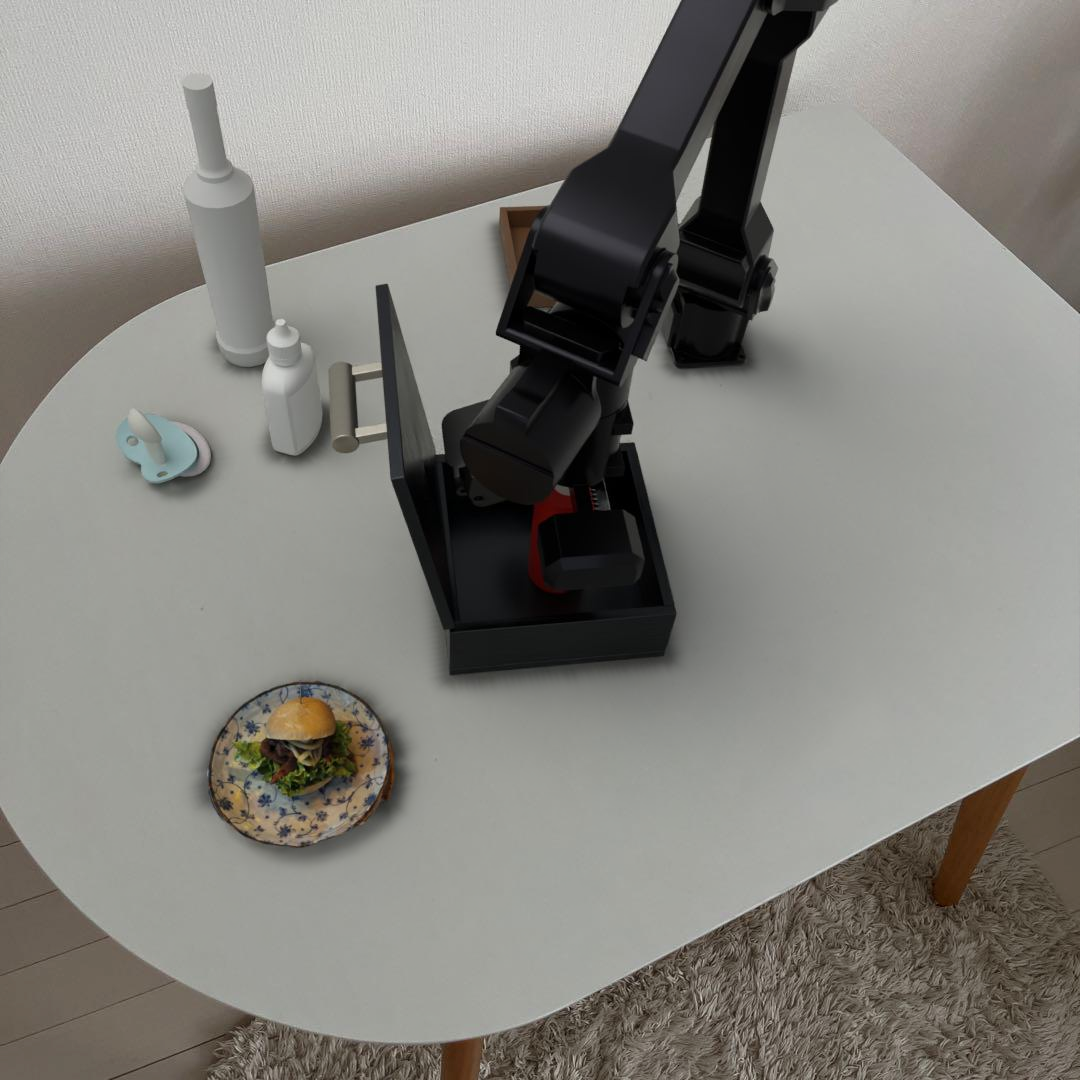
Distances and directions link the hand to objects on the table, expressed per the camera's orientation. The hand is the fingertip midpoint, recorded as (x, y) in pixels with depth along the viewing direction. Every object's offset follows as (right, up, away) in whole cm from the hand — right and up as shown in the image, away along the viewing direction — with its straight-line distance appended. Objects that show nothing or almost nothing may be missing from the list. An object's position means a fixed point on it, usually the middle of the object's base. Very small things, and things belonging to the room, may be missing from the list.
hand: (561, 536), depth 80 cm
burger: (-17, -16, -7) cm, 24 cm away
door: (-9, +5, -9) cm, 14 cm away
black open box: (-1, -3, +4) cm, 5 cm away
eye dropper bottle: (-21, +8, +11) cm, 25 cm away
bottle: (-27, +16, +16) cm, 35 cm away
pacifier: (-31, +6, +8) cm, 33 cm away
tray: (+2, +26, +25) cm, 36 cm away
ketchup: (0, -2, +3) cm, 4 cm away
